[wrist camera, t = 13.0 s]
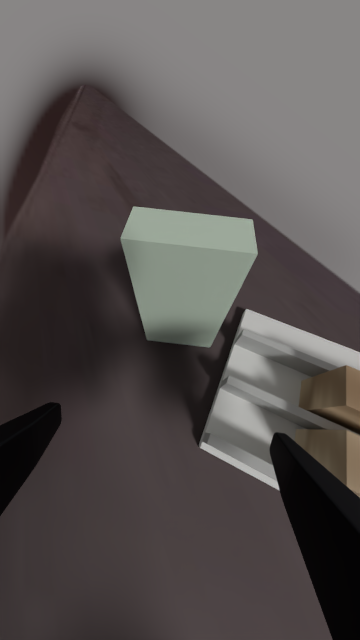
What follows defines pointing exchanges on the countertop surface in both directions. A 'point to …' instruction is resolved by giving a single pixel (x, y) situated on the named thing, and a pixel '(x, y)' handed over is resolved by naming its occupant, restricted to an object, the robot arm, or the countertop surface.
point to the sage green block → (186, 271)
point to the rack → (267, 392)
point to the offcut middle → (334, 396)
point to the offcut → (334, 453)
